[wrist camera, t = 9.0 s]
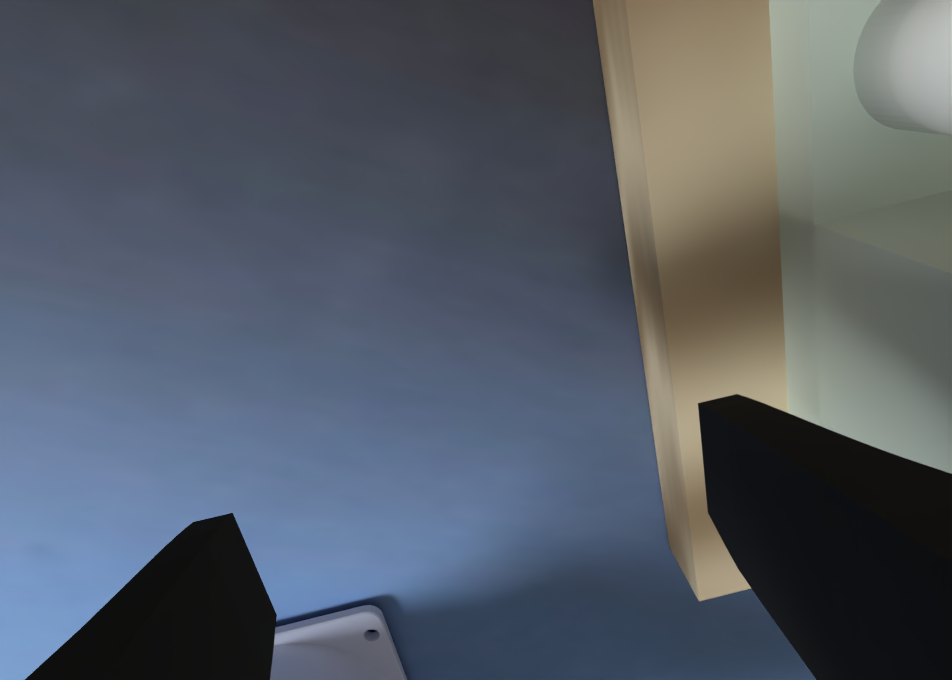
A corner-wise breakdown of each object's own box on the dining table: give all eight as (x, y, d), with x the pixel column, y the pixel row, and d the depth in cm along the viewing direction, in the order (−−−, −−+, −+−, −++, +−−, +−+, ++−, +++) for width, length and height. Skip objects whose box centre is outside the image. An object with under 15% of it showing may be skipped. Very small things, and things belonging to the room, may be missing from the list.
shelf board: (979, 470, 23) (1043, 515, 20) (669, 547, 23) (698, 601, 20) (1032, -146, 16) (1139, -185, 14) (587, -37, 16) (618, -56, 13)
